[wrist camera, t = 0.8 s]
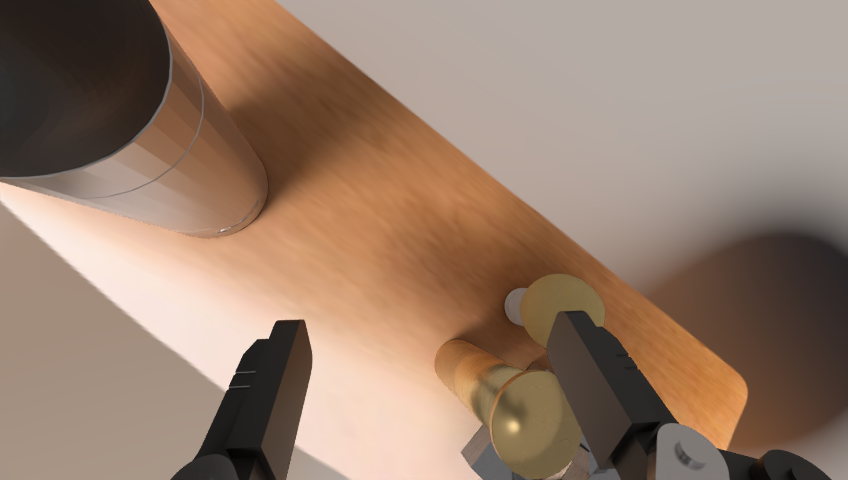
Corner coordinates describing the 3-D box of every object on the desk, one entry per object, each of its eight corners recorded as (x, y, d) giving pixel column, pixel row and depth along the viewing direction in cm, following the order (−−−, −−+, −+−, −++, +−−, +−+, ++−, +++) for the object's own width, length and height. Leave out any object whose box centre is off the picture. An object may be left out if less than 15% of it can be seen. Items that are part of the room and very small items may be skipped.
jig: (460, 452, 31) (470, 467, 28) (532, 362, 34) (547, 368, 31) (558, 550, 32) (575, 572, 30) (620, 454, 35) (640, 467, 32)
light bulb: (555, 295, 35) (635, 301, 26) (528, 349, 34) (602, 377, 24) (507, 263, 34) (572, 256, 25) (478, 317, 33) (534, 332, 23)
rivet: (416, 365, 31) (472, 431, 17) (456, 320, 32) (537, 350, 19) (457, 406, 31) (542, 502, 18) (494, 360, 33) (600, 417, 19)
